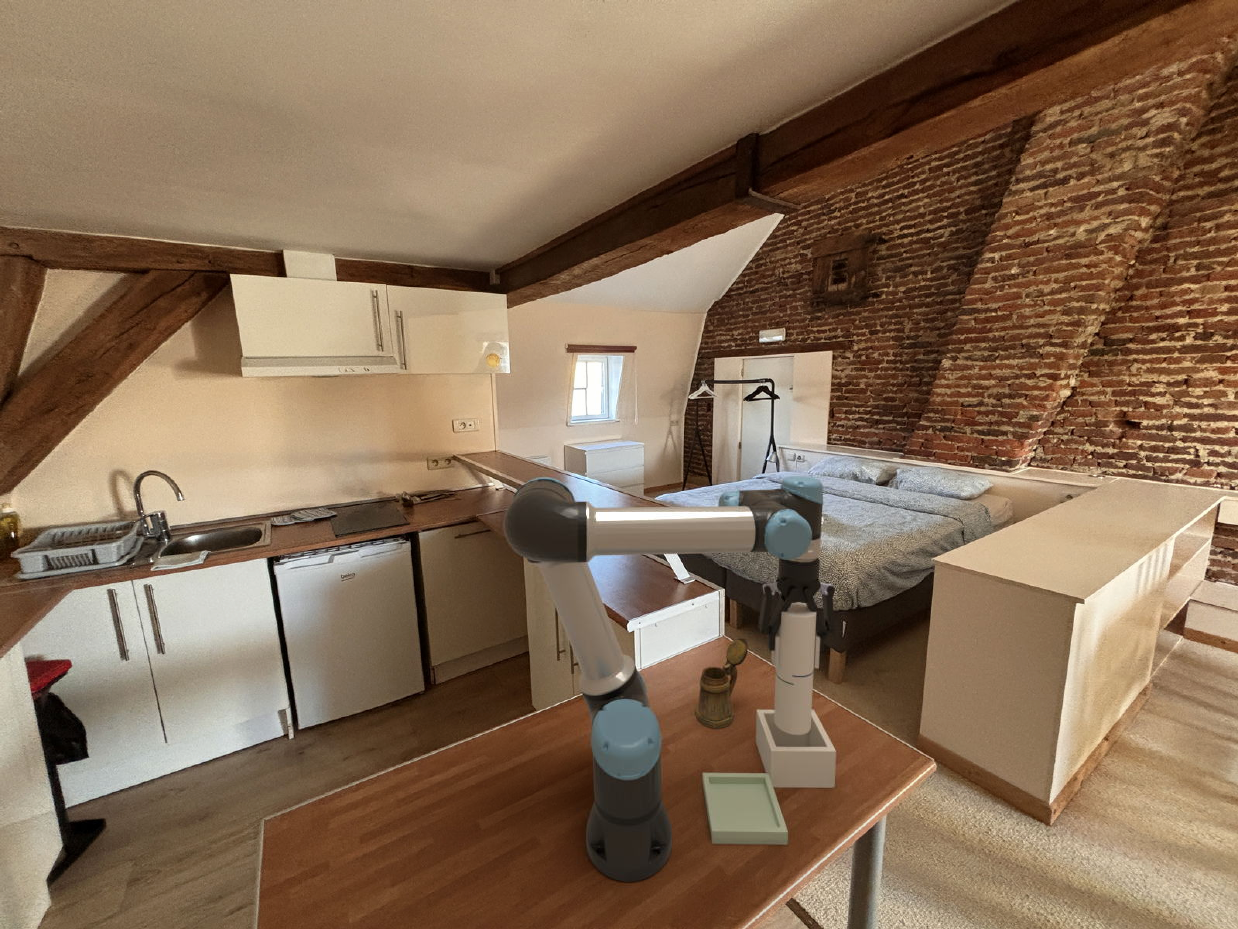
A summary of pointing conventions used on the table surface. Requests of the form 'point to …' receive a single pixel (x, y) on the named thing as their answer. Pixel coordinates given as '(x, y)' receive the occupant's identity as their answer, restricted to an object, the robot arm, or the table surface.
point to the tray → (743, 809)
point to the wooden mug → (720, 688)
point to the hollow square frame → (795, 754)
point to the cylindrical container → (795, 670)
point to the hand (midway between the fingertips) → (794, 664)
